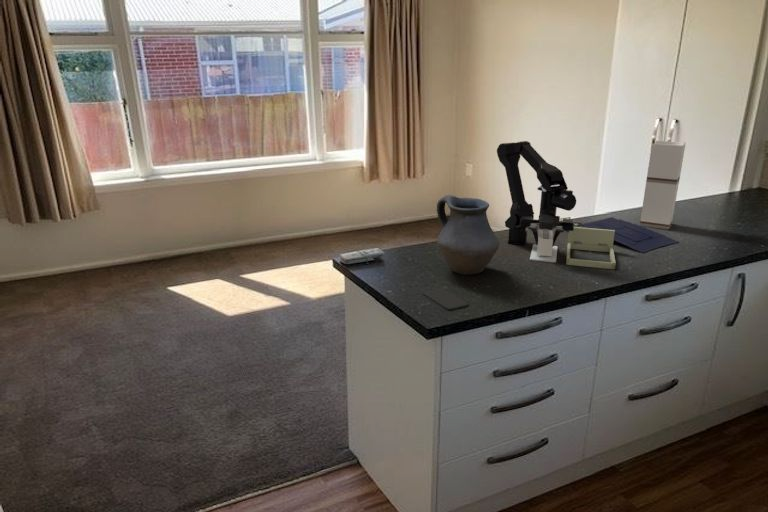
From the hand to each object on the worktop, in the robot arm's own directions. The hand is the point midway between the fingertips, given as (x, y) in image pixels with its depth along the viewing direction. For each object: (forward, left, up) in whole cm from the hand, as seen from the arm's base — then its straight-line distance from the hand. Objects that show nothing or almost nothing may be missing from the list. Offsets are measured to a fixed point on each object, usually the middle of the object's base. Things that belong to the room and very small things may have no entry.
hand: (544, 245), depth 210 cm
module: (0, 0, -2) cm, 2 cm away
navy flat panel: (+31, +30, -4) cm, 43 cm away
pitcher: (-25, -26, -3) cm, 36 cm away
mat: (0, 0, -3) cm, 3 cm away
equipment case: (+16, 0, -3) cm, 16 cm away
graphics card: (+9, +35, -4) cm, 37 cm away
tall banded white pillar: (+44, +55, -3) cm, 71 cm away
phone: (-26, -53, -4) cm, 59 cm away
